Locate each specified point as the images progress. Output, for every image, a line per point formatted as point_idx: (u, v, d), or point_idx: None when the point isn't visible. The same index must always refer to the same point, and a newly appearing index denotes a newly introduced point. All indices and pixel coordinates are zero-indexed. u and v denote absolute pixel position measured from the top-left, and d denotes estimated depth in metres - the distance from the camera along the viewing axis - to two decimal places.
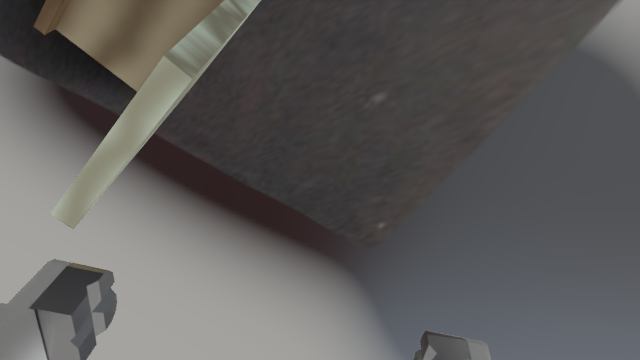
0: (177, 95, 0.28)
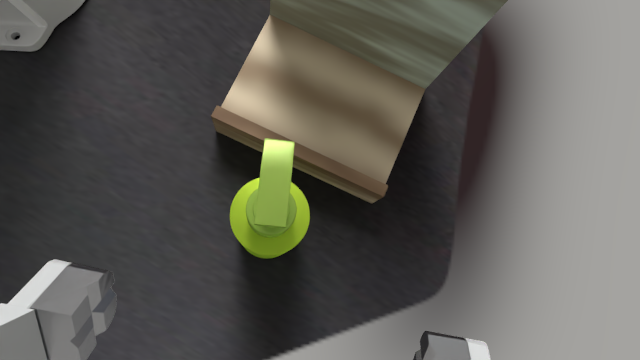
0: None
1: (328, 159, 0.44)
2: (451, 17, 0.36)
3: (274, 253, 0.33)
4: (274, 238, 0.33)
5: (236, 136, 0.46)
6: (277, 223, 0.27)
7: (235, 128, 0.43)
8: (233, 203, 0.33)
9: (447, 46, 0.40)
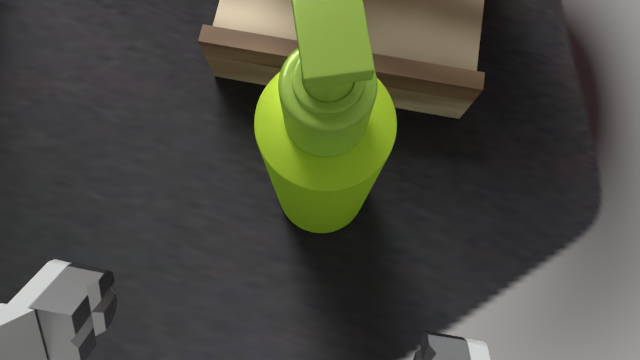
0: None
1: (384, 57, 0.29)
2: None
3: (351, 183, 0.18)
4: (344, 156, 0.18)
5: (243, 71, 0.32)
6: (354, 66, 0.12)
7: (237, 50, 0.29)
8: (256, 116, 0.19)
9: None
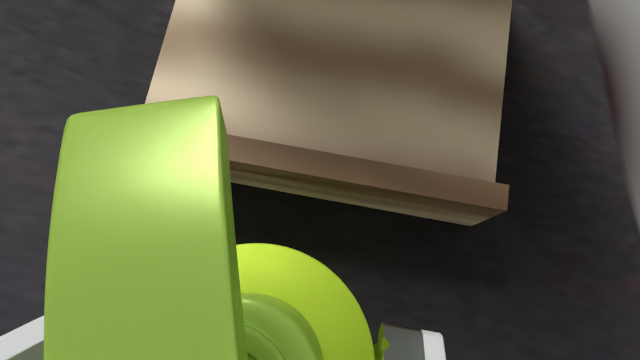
0: None
1: (371, 163, 0.21)
2: None
3: None
4: None
5: None
6: None
7: None
8: None
9: None
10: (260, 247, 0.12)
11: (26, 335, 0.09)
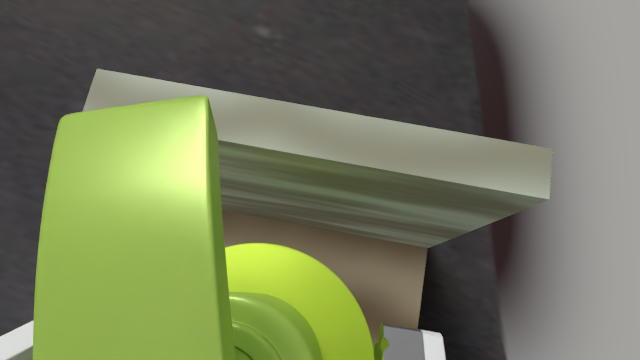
0: (135, 77, 0.18)
1: None
2: (435, 217, 0.24)
3: None
4: None
5: None
6: None
7: None
8: None
9: (442, 231, 0.27)
10: (260, 247, 0.12)
11: (26, 335, 0.09)
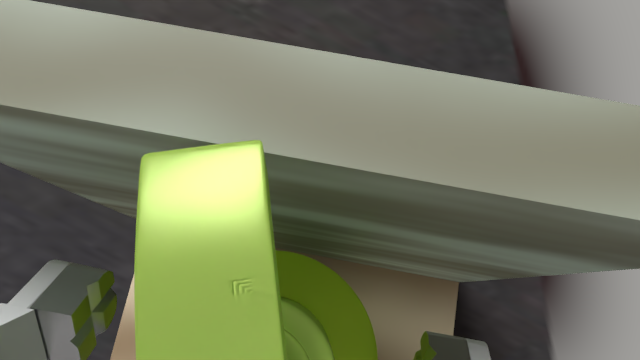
0: None
1: None
2: (500, 257, 0.14)
3: None
4: None
5: None
6: None
7: None
8: None
9: (497, 271, 0.17)
10: (276, 254, 0.13)
11: None
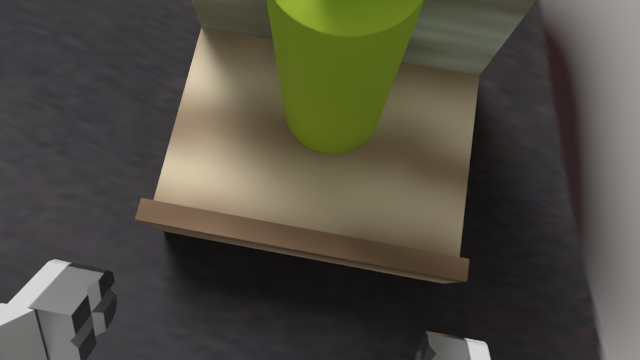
0: None
1: (352, 240, 0.24)
2: None
3: (378, 27, 0.15)
4: None
5: (193, 234, 0.28)
6: None
7: (181, 228, 0.25)
8: None
9: None
10: None
11: None
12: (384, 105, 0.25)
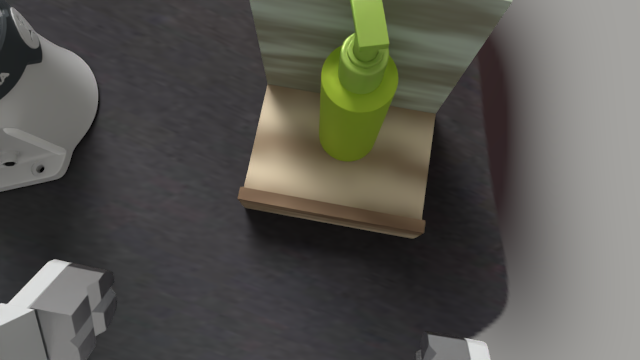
0: None
1: (360, 210, 0.44)
2: (444, 49, 0.36)
3: (373, 108, 0.34)
4: (370, 94, 0.34)
5: (265, 209, 0.47)
6: (380, 42, 0.28)
7: (263, 203, 0.44)
8: (322, 73, 0.35)
9: (447, 74, 0.40)
10: None
11: None
12: None
